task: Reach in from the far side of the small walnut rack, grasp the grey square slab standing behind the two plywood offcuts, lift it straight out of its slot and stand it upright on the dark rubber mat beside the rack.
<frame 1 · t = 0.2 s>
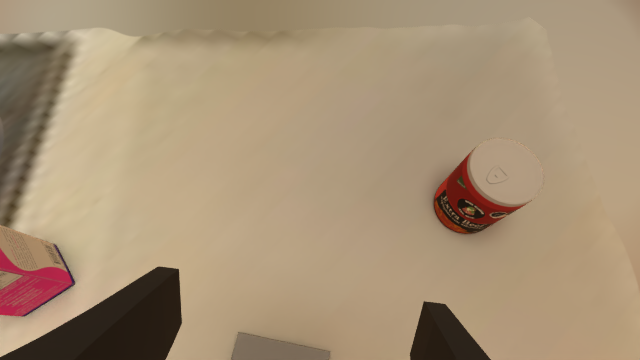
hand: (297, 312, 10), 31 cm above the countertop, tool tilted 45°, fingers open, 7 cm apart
canned food: (461, 207, 46), on the countertop
supplement box: (41, 280, 39), on the countertop
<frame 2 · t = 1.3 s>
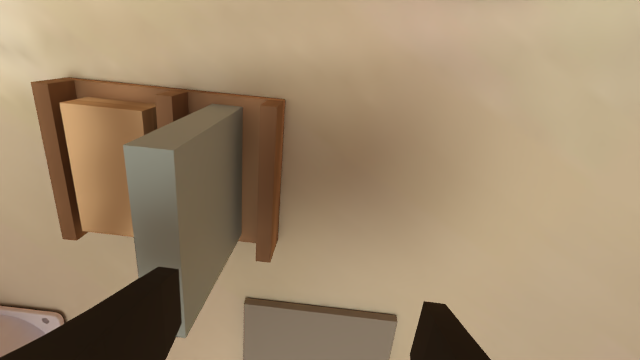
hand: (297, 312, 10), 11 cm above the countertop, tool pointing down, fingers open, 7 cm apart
upper offcut: (121, 169, 19), point 2 cm above the countertop, touching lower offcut
walnut rack: (179, 164, 20), on the countertop
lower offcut: (131, 163, 20), point 1 cm above the countertop, touching upper offcut, walnut rack
grey square slab: (227, 173, 20), point 1 cm above the countertop, touching walnut rack
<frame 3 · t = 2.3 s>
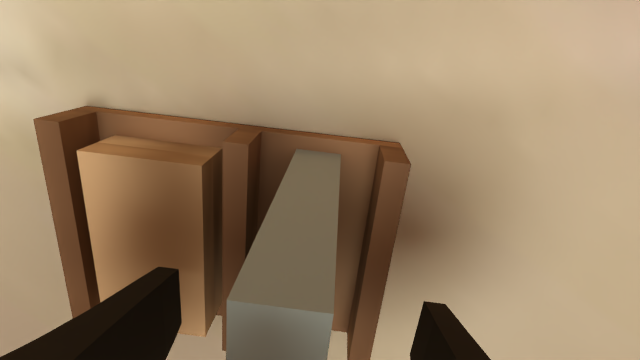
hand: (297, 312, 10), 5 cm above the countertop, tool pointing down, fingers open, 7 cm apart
upper offcut: (161, 238, 13), point 2 cm above the countertop, touching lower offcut
walnut rack: (238, 225, 15), on the countertop
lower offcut: (173, 225, 14), point 1 cm above the countertop, touching upper offcut, walnut rack
grey square slab: (309, 242, 14), point 1 cm above the countertop, touching walnut rack
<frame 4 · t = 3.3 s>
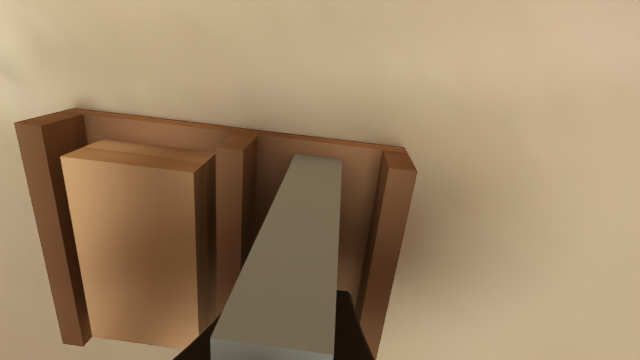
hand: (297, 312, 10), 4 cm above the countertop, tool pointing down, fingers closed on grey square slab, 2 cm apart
upper offcut: (152, 247, 13), point 2 cm above the countertop, touching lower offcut
walnut rack: (234, 233, 14), on the countertop
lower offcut: (165, 233, 14), point 1 cm above the countertop, touching upper offcut, walnut rack
grey square slab: (308, 251, 13), point 1 cm above the countertop, touching gripper, walnut rack
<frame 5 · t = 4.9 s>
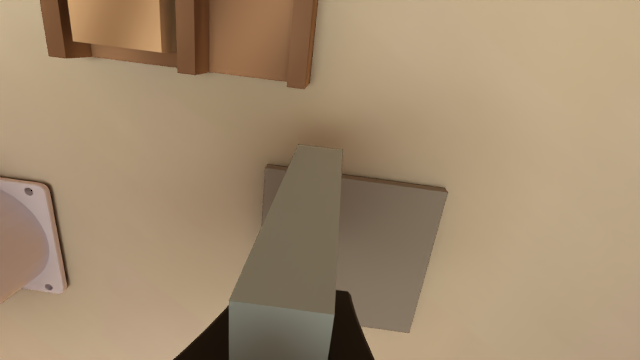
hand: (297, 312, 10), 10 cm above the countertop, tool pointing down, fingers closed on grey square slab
grey square slab: (311, 237, 14), point 6 cm above the countertop, touching gripper
rubber mat: (343, 251, 22), on the countertop
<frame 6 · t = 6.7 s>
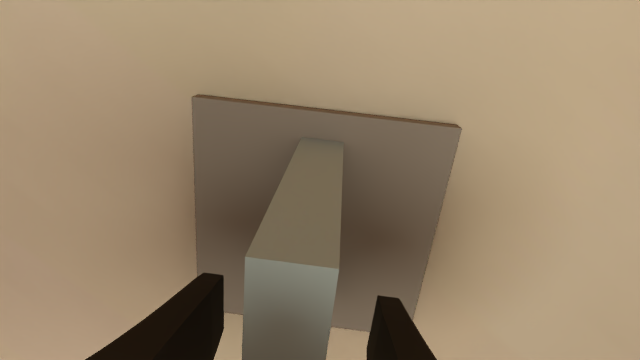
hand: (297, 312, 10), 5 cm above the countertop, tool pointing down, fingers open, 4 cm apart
grey square slab: (312, 227, 15), point 1 cm above the countertop, touching rubber mat
rubber mat: (313, 224, 15), on the countertop
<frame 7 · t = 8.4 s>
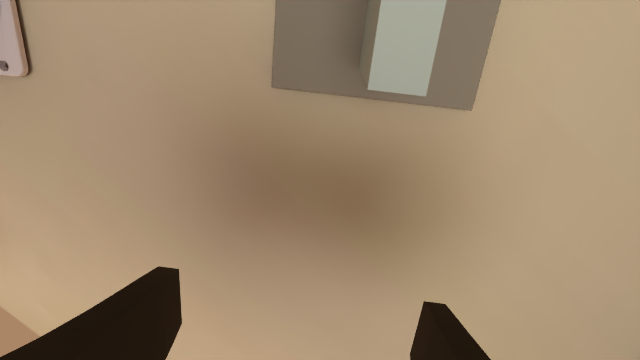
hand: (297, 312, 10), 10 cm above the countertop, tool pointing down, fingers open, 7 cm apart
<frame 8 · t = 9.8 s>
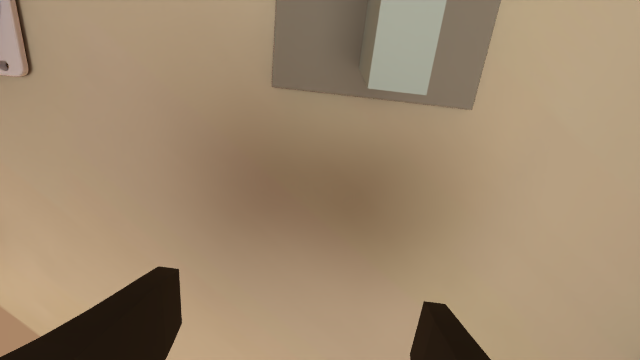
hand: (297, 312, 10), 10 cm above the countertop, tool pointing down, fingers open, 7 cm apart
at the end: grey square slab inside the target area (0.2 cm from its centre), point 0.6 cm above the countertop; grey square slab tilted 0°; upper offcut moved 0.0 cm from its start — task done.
